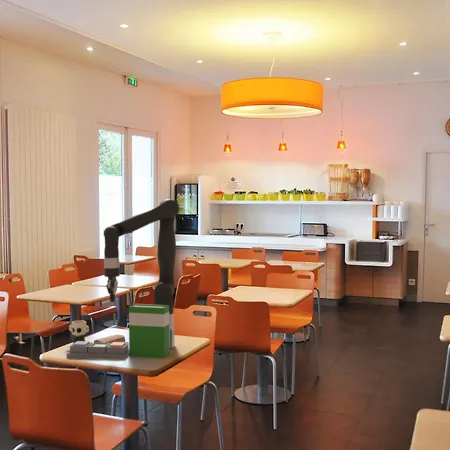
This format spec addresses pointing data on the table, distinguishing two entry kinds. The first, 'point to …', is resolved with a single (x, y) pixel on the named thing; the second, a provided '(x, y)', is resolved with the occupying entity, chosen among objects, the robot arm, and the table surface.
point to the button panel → (98, 351)
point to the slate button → (81, 343)
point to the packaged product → (111, 339)
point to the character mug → (78, 330)
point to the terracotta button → (117, 344)
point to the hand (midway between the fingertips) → (112, 301)
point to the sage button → (100, 345)
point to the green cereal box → (149, 330)
